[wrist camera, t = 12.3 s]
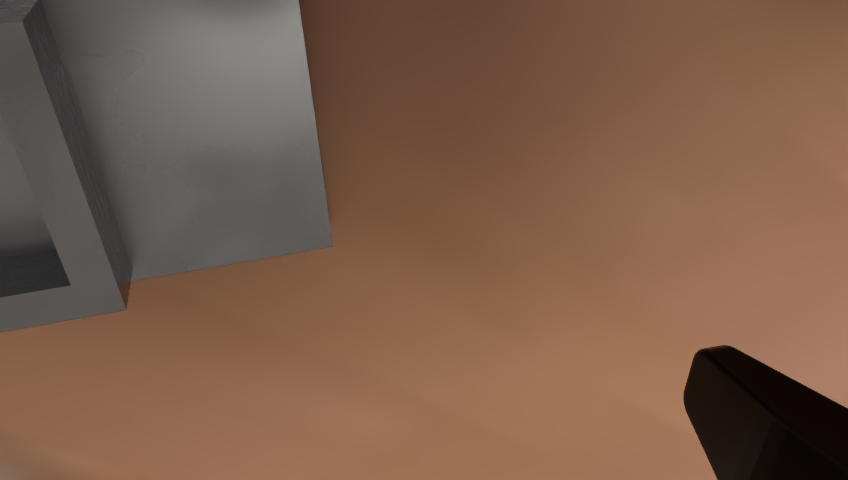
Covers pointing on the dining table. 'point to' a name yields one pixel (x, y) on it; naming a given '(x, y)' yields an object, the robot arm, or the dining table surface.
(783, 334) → the dining table surface
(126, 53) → the socket block
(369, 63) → the dining table surface
